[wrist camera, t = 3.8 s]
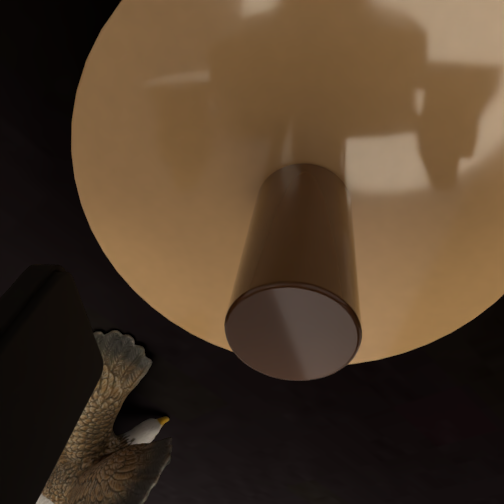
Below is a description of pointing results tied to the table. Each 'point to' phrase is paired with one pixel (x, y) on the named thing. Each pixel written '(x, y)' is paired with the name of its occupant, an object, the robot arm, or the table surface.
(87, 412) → the eagle figurine
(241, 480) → the table surface
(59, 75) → the table surface
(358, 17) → the lid
